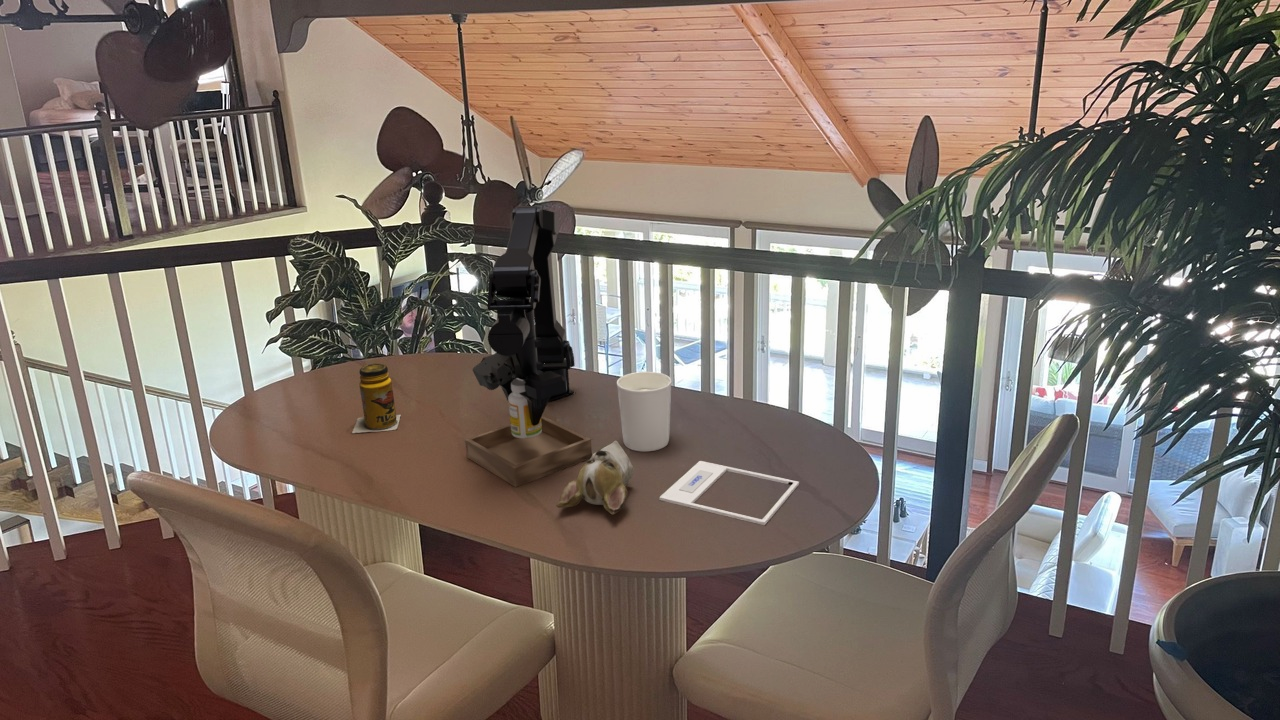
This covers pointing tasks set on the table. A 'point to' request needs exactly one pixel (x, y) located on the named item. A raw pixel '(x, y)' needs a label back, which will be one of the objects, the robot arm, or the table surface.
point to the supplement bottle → (521, 413)
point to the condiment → (376, 400)
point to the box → (528, 452)
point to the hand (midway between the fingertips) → (526, 420)
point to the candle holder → (645, 410)
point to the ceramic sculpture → (601, 480)
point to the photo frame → (705, 477)
